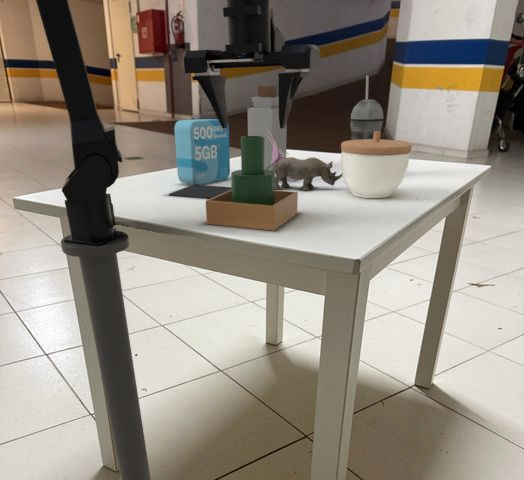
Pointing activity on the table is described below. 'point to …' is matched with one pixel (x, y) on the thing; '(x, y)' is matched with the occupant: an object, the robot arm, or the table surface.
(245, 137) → the bottle
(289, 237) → the table surface
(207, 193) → the mat
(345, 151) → the lidded bowl
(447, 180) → the table surface
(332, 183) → the rhino figurine
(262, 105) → the perfume bottle
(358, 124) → the beverage cup
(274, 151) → the lily
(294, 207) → the carton
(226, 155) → the data package
